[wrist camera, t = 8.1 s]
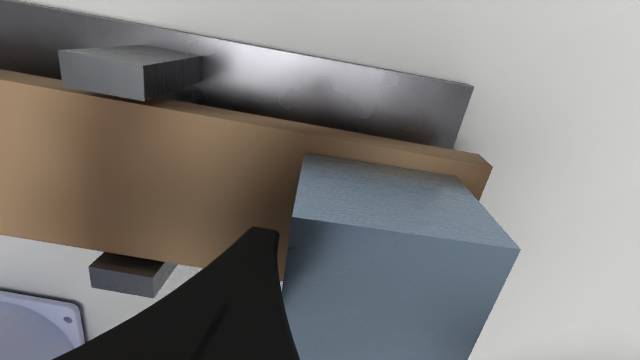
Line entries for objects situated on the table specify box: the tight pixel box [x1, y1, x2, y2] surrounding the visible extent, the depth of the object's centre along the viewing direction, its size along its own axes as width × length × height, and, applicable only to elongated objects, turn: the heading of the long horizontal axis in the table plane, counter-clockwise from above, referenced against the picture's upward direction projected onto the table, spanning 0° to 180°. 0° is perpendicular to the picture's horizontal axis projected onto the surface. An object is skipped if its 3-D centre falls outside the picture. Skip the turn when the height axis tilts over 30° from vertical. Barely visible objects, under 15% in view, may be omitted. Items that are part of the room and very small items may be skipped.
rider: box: [282, 153, 521, 360], centre depth 10 cm, size 5×5×4 cm
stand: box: [0, 0, 474, 298], centre depth 13 cm, size 24×10×5 cm, turn 80°
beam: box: [0, 69, 493, 281], centre depth 11 cm, size 24×6×4 cm, turn 80°
